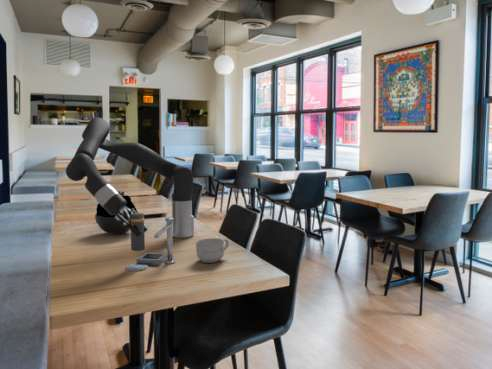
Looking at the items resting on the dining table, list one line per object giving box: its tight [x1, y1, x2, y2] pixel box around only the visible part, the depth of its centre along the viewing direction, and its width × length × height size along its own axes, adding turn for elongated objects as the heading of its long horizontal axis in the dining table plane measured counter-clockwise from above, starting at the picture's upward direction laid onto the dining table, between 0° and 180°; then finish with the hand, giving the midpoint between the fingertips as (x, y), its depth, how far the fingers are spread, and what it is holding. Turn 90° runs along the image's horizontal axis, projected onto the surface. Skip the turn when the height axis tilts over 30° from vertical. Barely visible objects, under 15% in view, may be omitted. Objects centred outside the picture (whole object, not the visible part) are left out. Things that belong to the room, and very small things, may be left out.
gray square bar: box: [153, 217, 174, 239], centre depth 153 cm, size 20×3×3 cm, turn 176°
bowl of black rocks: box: [94, 194, 139, 236], centre depth 207 cm, size 20×20×19 cm
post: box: [164, 221, 176, 265], centre depth 163 cm, size 4×4×16 cm
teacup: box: [195, 237, 230, 264], centre depth 166 cm, size 14×11×8 cm
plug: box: [130, 212, 146, 252], centre depth 157 cm, size 5×5×13 cm
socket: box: [136, 252, 168, 267], centre depth 164 cm, size 9×9×2 cm
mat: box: [125, 262, 149, 272], centre depth 157 cm, size 8×8×1 cm
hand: (142, 232), depth 157 cm, fingers closed on plug, 4 cm apart
